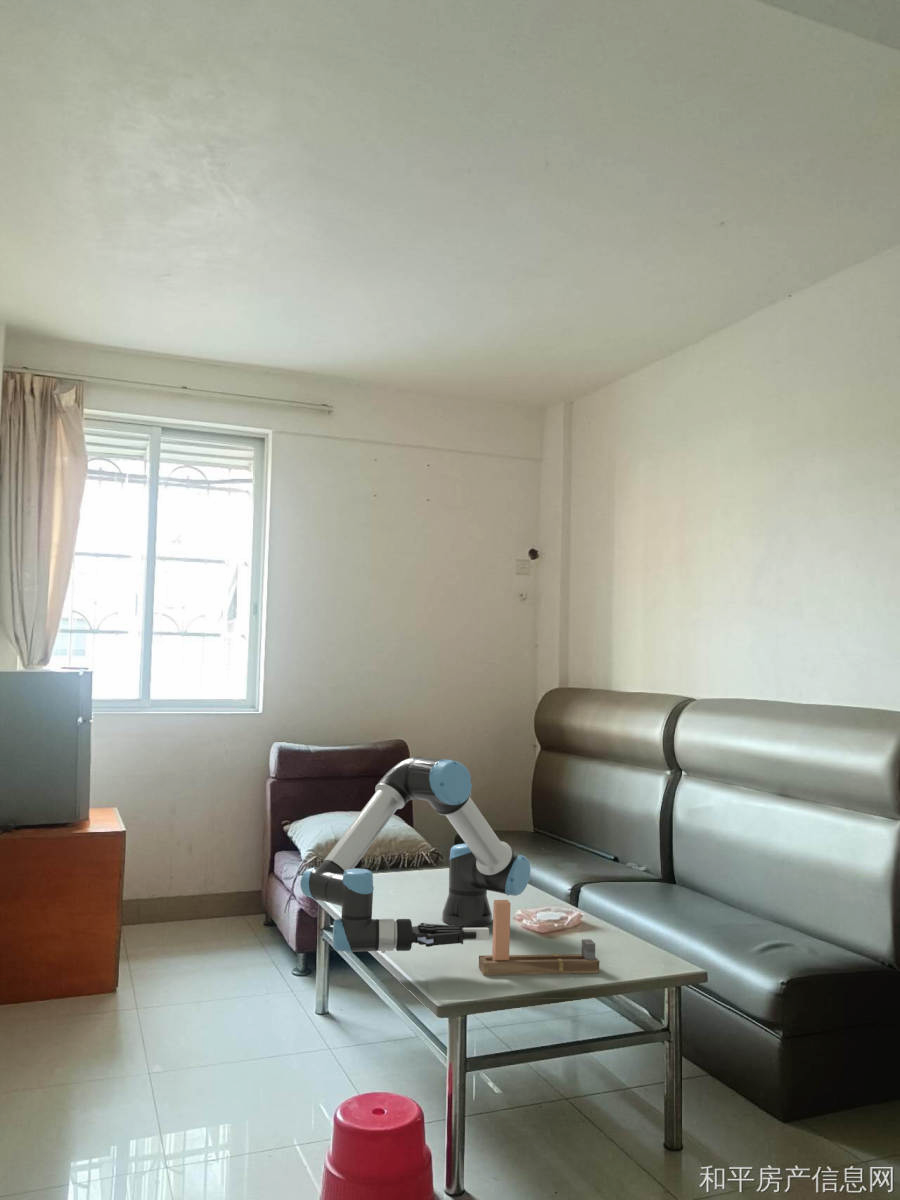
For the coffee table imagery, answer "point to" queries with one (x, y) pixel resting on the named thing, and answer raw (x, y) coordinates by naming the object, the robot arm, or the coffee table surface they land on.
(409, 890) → the coffee table surface
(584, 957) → the beam
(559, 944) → the coffee table surface
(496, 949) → the block
